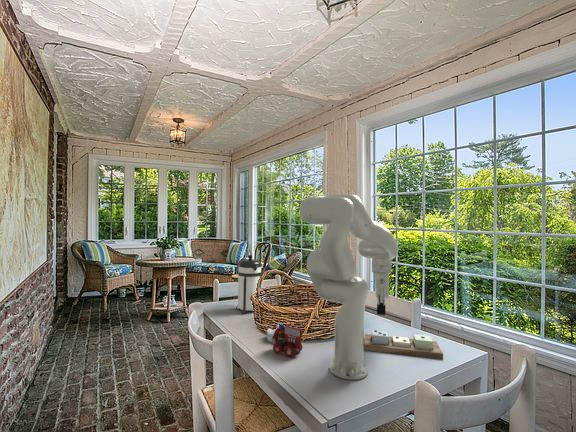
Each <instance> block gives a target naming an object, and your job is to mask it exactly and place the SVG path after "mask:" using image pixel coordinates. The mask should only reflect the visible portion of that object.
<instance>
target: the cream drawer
mask: <svg viewBox="0 0 576 432" xmlns="http://www.w3.org/2000/svg"><path fill="white" fill-rule="evenodd" d="M391 337H392V345H393V346H402V347H410V341H409V339H410V338H409V337H407V336H406V337H405V336H398V335H397V336H396V335H392V336H391Z"/></svg>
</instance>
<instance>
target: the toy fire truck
mask: <svg viewBox="0 0 576 432" xmlns="http://www.w3.org/2000/svg"><path fill="white" fill-rule="evenodd" d="M279 332H280V333H279ZM302 337H303V329H302V328H301V327H299V328H297V327H292V326H285V327H284V325H283V324H280V325H279V328H277V329H276V331H275V333H274V335H273V338H272V340H273V341H272V342H271V343H272V349H273V352H274V354H276V355H281V354H282V353H283V352H284V355H285V357H286V358H288V359H292V358H293V357H295V355H296V354H298V353H300V352H301V351H302V350H303V344H302Z"/></svg>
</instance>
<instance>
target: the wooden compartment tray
mask: <svg viewBox="0 0 576 432" xmlns="http://www.w3.org/2000/svg"><path fill="white" fill-rule="evenodd" d="M408 339H409V341H410V347H402V346H393V344H392V336H389V335H388V344H379V343H372V334H368V333H364V351H371V352H378V353H385V354H387V353H388V354H396V355H397V354H398V355H405V356H413V357H423V358H429V359H430V358H431V359H439V360H444V353H443V351H442V350H441V348H440V345H439V344H438V342H437V341H436V340H435V341H433V340H432V341H433V349H424V348H416V347H415V345H414V342H413V338H408Z"/></svg>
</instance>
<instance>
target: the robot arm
mask: <svg viewBox="0 0 576 432" xmlns="http://www.w3.org/2000/svg"><path fill="white" fill-rule="evenodd" d="M299 215H300V218H301V219H302V220H303V222H305V224H309V225H328V226H327V228H326V230H325V232H324V233H323V234H322V236H321V237H320V242H319V248H315V249H313V250H311V252H309V254H308V255H307V257H306V258H307V259H306V270H307V273H308V276H309V278H310V281H311V282H312V285H313V287H314V289H315V292H316V293H317V295H318V297H320V298H321V299H322V300H325V301H330V302H335V303H338V304H341V306H340V308H339V309H338V310H337V312H336V314H335V316H334V317H335V318H334V353H333V354H334V355H333V357H334V360H332V361H331V362H330V363H329V365H328V366H329V372H330V373H331V374H332V375H334V376H335V377H338V378H339V379H344V380H352V381H357V380H361V379H364V378H366V377H367V376H368V375H369V368H368V367H367V365H365V363H364V355H365V354H364V351H365V350H364V338H365V314H366V313H365V311H366V306H367V305H366V304H367V299H368V293H369V286H368V283H367V281H365V279H364V278H362V277H361V276H357V275H356V272H357V271H356V270H357V268H356V264H355V260H354V257H353V254H352V251H351V248H350V244H349V241H348V238H349V237H348V235H349V233H351V235H353V237H355V238H358V239H360V242H359V243H358V246H357V249H358V253H359V255H360V256H361V257H363V258H368V259H371V272H372V273H373V274H374V289H375V297H376V299H377V303H376V314H377V315H379V316H385V315H386V300H389V299H390V278H389V277H390V274H392V260H393V259H395V258H396V257H397V255H398V253H399V249H398V248H399V247H398V244H397V241H396V239H395V236H394V235H393V233H392V231H390V230H389V228H387V227H385V226H383V225H382V224H380V223H378V222H376V221H375V220H373V219H372V217H371V216H370V214H369V212H368V210H367V208H366V207H365V205H364V203H363V201H362V199H361V198H360V197H359V196H358V195H355V194H353V193H352V194H351V193H349V194H348V193H343V194H342V193H341V194H325V195H319V196H318V195H316V196H309V197H306V198H305V199H303V201H301V203H300V206H299Z"/></svg>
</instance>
